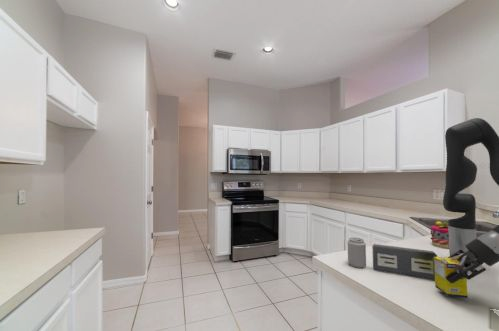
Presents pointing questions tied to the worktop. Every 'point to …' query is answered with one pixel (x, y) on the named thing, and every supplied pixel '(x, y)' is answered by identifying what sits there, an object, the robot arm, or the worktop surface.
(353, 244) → the can
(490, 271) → the worktop surface
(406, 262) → the panel
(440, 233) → the cake
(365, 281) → the worktop surface
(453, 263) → the supplement box
